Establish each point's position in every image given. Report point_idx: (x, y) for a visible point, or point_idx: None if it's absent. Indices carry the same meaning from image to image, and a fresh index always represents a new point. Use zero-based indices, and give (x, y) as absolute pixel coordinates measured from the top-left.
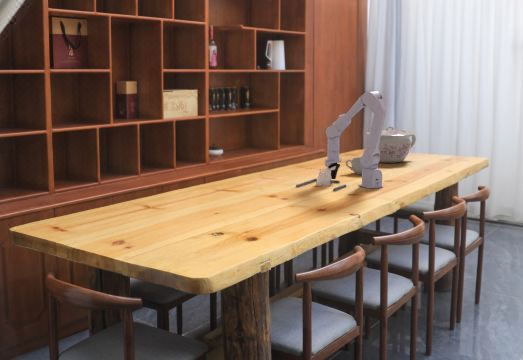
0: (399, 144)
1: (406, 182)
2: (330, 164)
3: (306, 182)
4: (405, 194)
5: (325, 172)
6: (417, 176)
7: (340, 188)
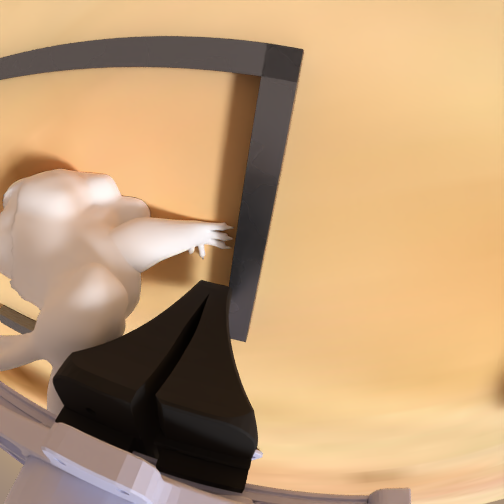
0: None
1: None
2: (43, 420)
3: (28, 73)
4: None
5: (40, 297)
6: (467, 489)
7: None
